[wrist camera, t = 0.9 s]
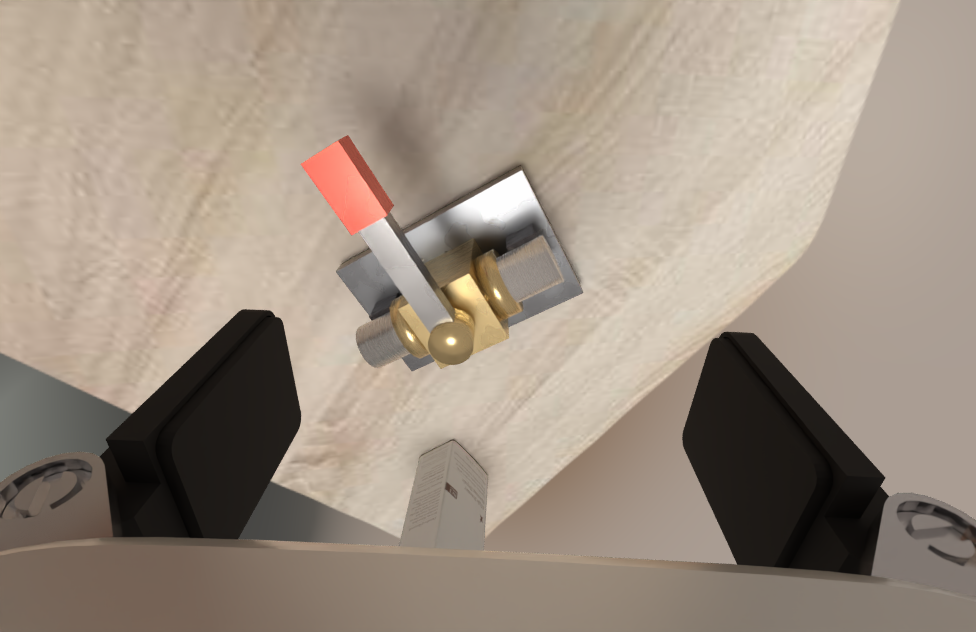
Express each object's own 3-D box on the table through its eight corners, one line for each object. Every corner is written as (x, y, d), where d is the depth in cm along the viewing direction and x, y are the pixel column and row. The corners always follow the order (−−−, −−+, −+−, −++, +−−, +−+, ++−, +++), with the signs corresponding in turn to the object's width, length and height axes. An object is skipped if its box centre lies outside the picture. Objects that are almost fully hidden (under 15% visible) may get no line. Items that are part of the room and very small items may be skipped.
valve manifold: (341, 263, 35) (306, 311, 29) (520, 165, 32) (527, 194, 25) (414, 360, 40) (398, 422, 33) (580, 284, 36) (598, 335, 29)
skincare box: (490, 474, 46) (488, 600, 35) (453, 492, 47) (441, 619, 37) (451, 435, 44) (437, 558, 33) (414, 455, 45) (389, 579, 34)
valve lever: (482, 334, 29) (481, 353, 27) (446, 351, 30) (443, 371, 28) (351, 132, 23) (339, 139, 21) (310, 158, 24) (295, 167, 22)
